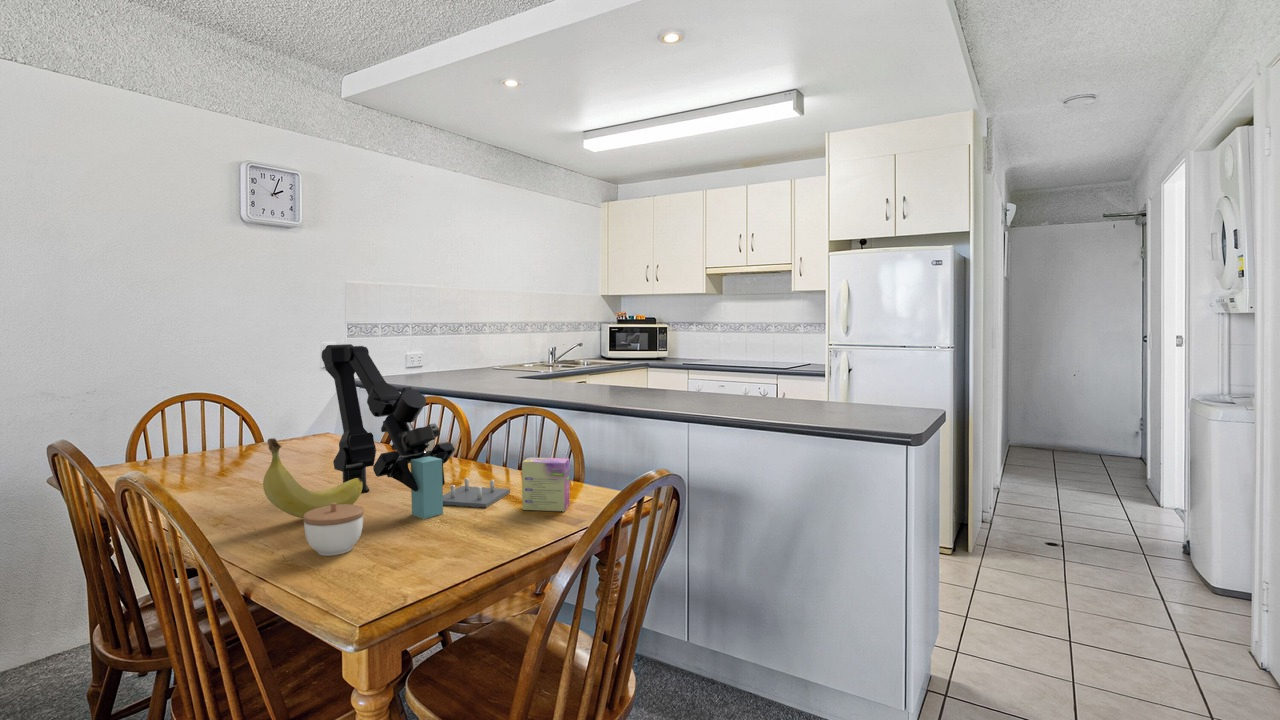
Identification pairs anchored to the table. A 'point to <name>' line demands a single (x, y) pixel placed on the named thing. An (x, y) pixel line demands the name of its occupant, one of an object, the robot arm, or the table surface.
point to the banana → (302, 489)
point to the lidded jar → (333, 528)
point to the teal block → (427, 487)
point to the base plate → (474, 495)
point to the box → (545, 484)
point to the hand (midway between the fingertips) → (430, 487)
